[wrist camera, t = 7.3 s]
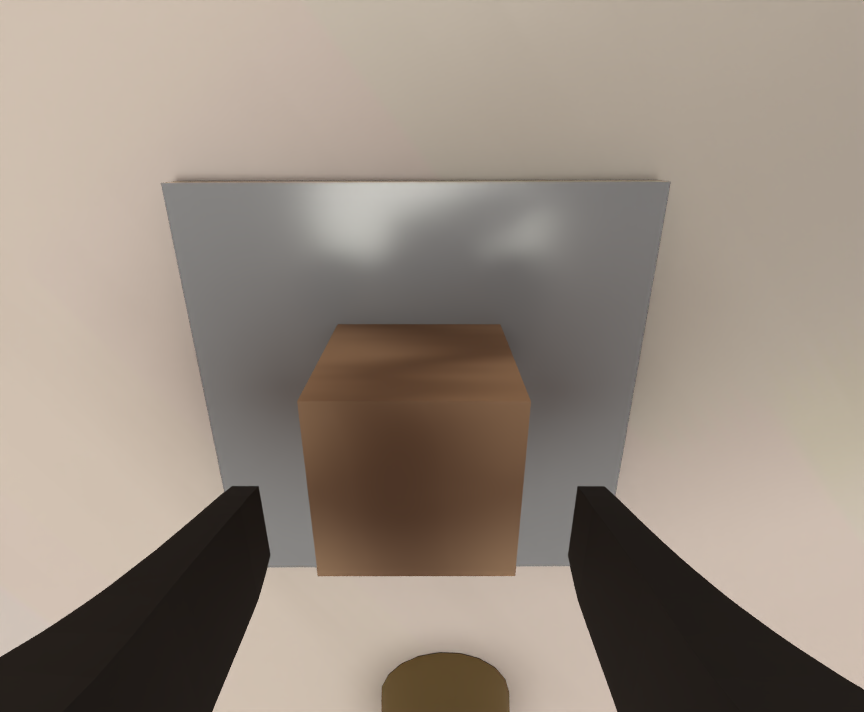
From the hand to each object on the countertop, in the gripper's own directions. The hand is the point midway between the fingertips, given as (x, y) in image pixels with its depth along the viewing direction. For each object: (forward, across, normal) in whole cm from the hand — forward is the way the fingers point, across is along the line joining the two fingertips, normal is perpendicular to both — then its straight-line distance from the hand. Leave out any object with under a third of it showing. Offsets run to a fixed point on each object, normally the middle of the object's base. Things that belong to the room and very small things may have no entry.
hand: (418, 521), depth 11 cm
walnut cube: (+6, 0, 0) cm, 6 cm away
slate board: (+6, 0, 0) cm, 6 cm away
